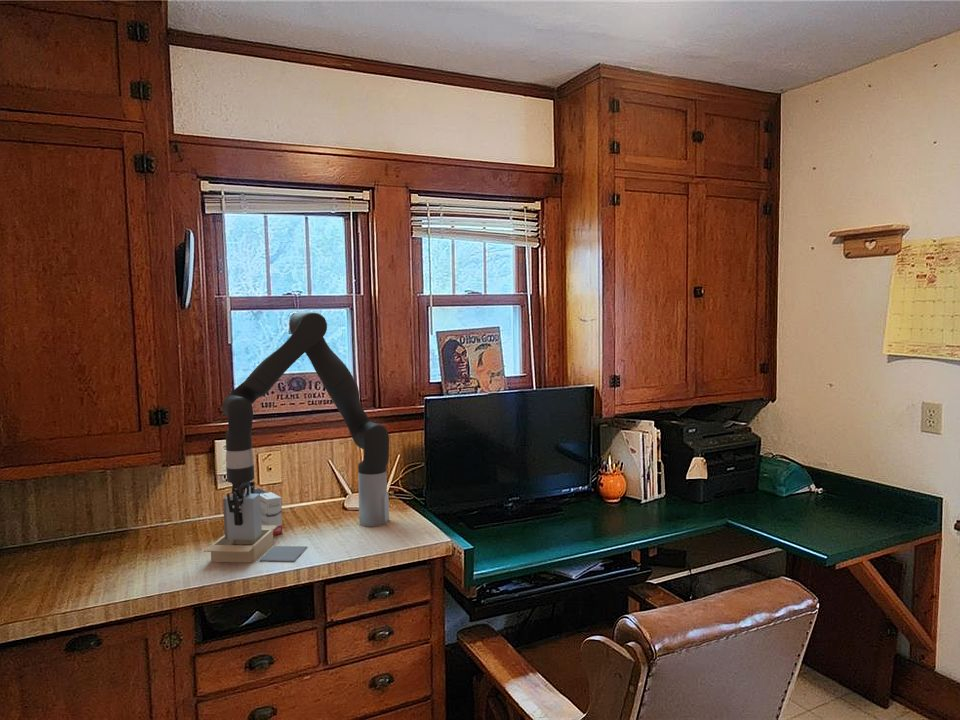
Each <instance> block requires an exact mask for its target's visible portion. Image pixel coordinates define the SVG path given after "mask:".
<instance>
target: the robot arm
mask: <svg viewBox="0 0 960 720" xmlns="http://www.w3.org/2000/svg"><path fill="white" fill-rule="evenodd" d="M288 326H289V332H290V333H291V335H290V337H288V339H287V340H286V341H285V342H284V343H283V344H282V345H281V346H280V347H278V348H277V349H276V350H275V351H274V352H272V353H271V354H269V355H268V356H267V357H265V359H264V360H263V361H261V362H259V364H258V365H257V366H256V367H255V368H254V369H253V370H252V371H251V373H250V374H249V375H248V377H247V378H246V379H244V381H243V382H241V383H240V384H239V385H238V386H237V387H236V388H234V389H233V390H232V391H230V393H228V394H227V396H226V397H225V398H224V400H223V401H222V405H221V410H222V413H223V415H224V416H226V418H227V421H228V423H227V424H228V425H227V427H228V429H227V431H226V433H225V450H226V451H225V466H226V467H225V468H226V481H227V483H230V484H231V485H232V486H231V493H230V492H229V493H227V494H226V496H227V500H228V506H229V511H230V513H234V524H235V525H237V526H241V525H242V524H243V515H242V505H243V504H244V498H245V496H246V495H250V494H254V491H255V489H256V488H255V487H256V482H255V481H254V479H255V463H254V459H255V458H254V457H255V456H254V451H253V439H252V437H253V436H252V428H253V420H254V408H253V407H254V406H253V403H254V402H256V400H258V399H259V398H261V397H264V396H266V394H267V393H268V392H269V391H270V390H271V389H272V387H274V385H275V384H276V383H277V382H278V380H279V379H280V378H281V377H282V376H283V375H284V374H285V373H286V372H287V370H289V368H290V367H291V366H292V365H293V364H295V362H296V361H297V360H299V358H301V357H302V356H303V355H304V354H305V355H306V356H307V357H308V360H309V361H310V362H311V365H312V366H313V369H314V371H315V372H316V375H317V376H318V378H319V380H320V382H321V383H322V385H323V387H324V389H325V390H326V393H327V394H328V396H329V397H330V399H331V401H332V402H333V404H334V406H335V407H336V409H337V410H338V412H339V413H340V414H341V417H342V418H343V420H344V422H345V424H346V426H347V429H348V431H349V434H350V436H351V438H352V440H353V442H354V443H355V445H356V446H357V447H358V448H360V449H362V450H363V459H362V460H361V461H360V462H359V463H358V465H357V474H358V475H357V476H358V477H357V479H358V486H357V487H358V519H359V521H358V522H359V525H360V526H363V527H370V528H372V527H380V526H386V525H387V523H388V522H389V520H390V509H389V508H390V505H389V503H390V502H389V497H390V496H389V495H390V494H389V491H388V487H387V486H388V485H387V484H388V481H387V480H388V479H387V477H388V476H387V466H388V464H389V459H390V434H389V432H388V429H387V428H386V426H384V425H383V424H381V423H376V422H373V421H372V420H371V419H370V418H369V416H368V415H367V414H366V412H365V410H364V408H363V406H362V403H361V398H360V391H359V387H358V383H357V382H356V380H355V379H354V377H353V375H352V373H351V371H350V369H349V368H348V367H347V366H346V364H345V363H344V362H343V361H342V359H341V358H339V356H338V355H337V354H336V353H335V351H333V350H332V349H331V347H330V346H329V345H328V342H327V341H326V340H325V338H324V337H325V335H326V333H327V330H328V323H327V320H326V318H325V317H324V316H323V315H322V314H321V313H319V312H316V311H307V310H306V311H305V310H303V311H302V310H301V311H297V312H295V313H294V314H292V316H291V317H290V320H289V325H288ZM238 499H242V500H241V501H238ZM239 505H240V506H239ZM232 506H233V507H232Z"/></svg>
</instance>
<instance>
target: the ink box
mask: <svg viewBox="0 0 960 720" xmlns="http://www.w3.org/2000/svg"><path fill="white" fill-rule="evenodd" d="M260 506H261V525H278V527H276V528H275V529H274V530H273V536H276V535H281V534H283V515H282V514H283V510H282V509H283V508H282V497H281V496H279V495H277V494H275V493H274V492H267V493H262V494H260ZM280 533H281V534H280Z"/></svg>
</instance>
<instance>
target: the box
mask: <svg viewBox="0 0 960 720" xmlns="http://www.w3.org/2000/svg"><path fill="white" fill-rule="evenodd" d="M241 500H242V499H238V501H241ZM222 506H223V509H222V510H223V524H224V525H223V526H224V527H223V528H224V535H225V540H255V539H256V538H257V537H259V536H260V535H261V534H262V527H261V506H260V494H250V495H246V496H245V498H244V504H243V505H242V515H243V524H242V525H241V526H237V525H235V524H234V513H230V511H229V506H228V500H227V495H226V496H225V497H223V498H222ZM239 506H240V505H239ZM232 507H233V506H232Z"/></svg>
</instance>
